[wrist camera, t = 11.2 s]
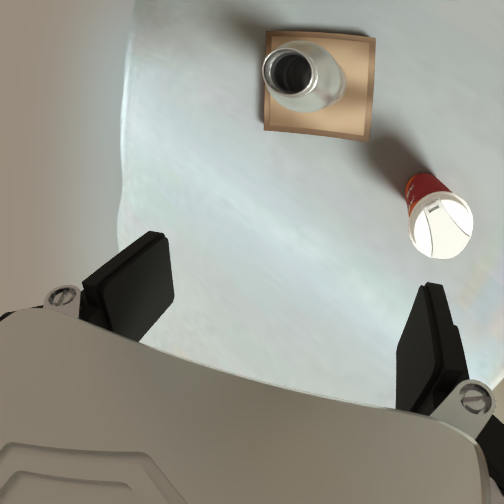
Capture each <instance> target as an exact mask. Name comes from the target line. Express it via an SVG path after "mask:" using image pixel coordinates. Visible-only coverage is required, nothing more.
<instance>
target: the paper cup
mask: <svg viewBox="0 0 504 504" xmlns="http://www.w3.org/2000/svg"><path fill="white" fill-rule="evenodd" d="M405 194H406V202H407V208H408V214H409V223H408V230H409V235H410V238H411V241H412V243H413V244H414V246H415V247H416V248H417V249H418V250H419V251H420V252H421V253H423V254H425V255H427V256H429V257H432V258H439V259H447V258H451V257H454V256H456V255H457V254H459V253H460V252H461V251H462V250H463V249H464V247H465V246H466V244H467V243H468V241H469V239H470V237H471V234H472V229H473V217H472V213H471V210H470V208H469V206H468V205H467V203H466V202H465V201H464V200H463V199H462V198H461V197H459V196H458V195H456V194H454V193H452V192H451V191H450V190H449V189H448V188H447V187H446V186H445V185H444V184H443V183H442V182H440V181H439V180H438V179H437V178H436V177H434V176H433V175H431V174H428V173H419V174H416V175H414V176H413V177H411V178H410V180H409V181H408V183H407V185H406V190H405Z"/></svg>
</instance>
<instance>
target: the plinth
mask: <svg viewBox="0 0 504 504" xmlns="http://www.w3.org/2000/svg"><path fill="white" fill-rule="evenodd" d="M299 40H301V41H309V42H312V43H315V44H317V45H319V46H321V47H323V48H324V49H325V50H327V51H328V52H329V53H330V54H331V55H332V56H333V58H334V59H335V61H336V62H337V63H338V64H339V65H340V66H341V67H342V69H343V71H344V72H345V75H346V78H347V89H346V92H345V94H344V96H343V97H342V99H341V100H340V101H339V102H337V103H336V104H334V105H332V106H328V107H325V108H323V109H321V110H319V111H315V112H311V113H301V112H295V111H292V110H289V109H287V108H285V107H283V106H282V105H281V104H279V103H278V102H277V101H276V100H275V99H274V98H273V97H272V96H271V94H270V92H269V91H268V89H267V86H266V83H265V103H264V130H266V131H279V132H290V133H301V134H310V135H319V136H327V137H335V138H342V139H349V140H356V141H363V142H369V138H370V128H371V116H372V104H373V90H374V72H375V45H376V38H372V37H364V36H356V35H346V34H336V33H322V32H301V31H266V57H267V55H268V54H269V53H271V52H272V51H274V50H275V49H276V48H278V47H279V46H281V45H283V44H285V43H287V42H291V41H299Z"/></svg>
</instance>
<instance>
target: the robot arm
mask: <svg viewBox="0 0 504 504" xmlns="http://www.w3.org/2000/svg"><path fill="white" fill-rule="evenodd" d="M82 284H83V288H84V290H83V291H81V292H80V289H79V288H78V287H76V286H73V285H64V286H60V287H57V288H55V289H53V290H52V291H50V292H49V293H48V294H47V296H46V298H45V301H44V305H42V306H37V307H32V308H27V309H21V310H18V311H13V312H7V313H5V314H3V315H2V316H1V317H0V504H504V424H503V423H502V422H500V421H499V420H498V419H497V418H496V417H495V416H494V415H493V413H494V410H495V407H496V400H495V396H494V394H493V392H492V391H491V389H490V388H489V387H488V386H487V385H485V384H484V383H482V382H480V381H477V380H470V379H469V374H468V369H467V364H466V359H465V355H464V350H463V346H462V342H461V338H460V334H459V330H458V327H457V326H456V325H453V321H452V317H451V313H450V310H449V306H448V302H447V299H446V295H445V292H444V288H443V286H442V285H440V284H435V283H429V282H427V283H426V284H425V286H422V285H421V286H420V287H419V290H418V293H417V296H416V298H415V301H414V304H413V307H412V310H411V312H410V315H409V318H408V320H407V323H406V325H405V328H404V330H403V333H402V335H401V338H400V340H399V343H398V346H397V351H396V409H392V408H386V407H381V406H376V405H371V404H365V403H359V402H353V401H348V400H343V399H338V398H333V397H328V396H323V395H319V394H314V393H309V392H305V391H300V390H296V389H292V388H288V387H283V386H279V385H275V384H271V383H268V382H264V381H260V380H256V379H252V378H249V377H245V376H241V375H238V374H234V373H231V372H227V371H224V370H221V369H217V368H214V367H211V366H207V365H204V364H201V363H198V362H195V361H192V360H188V359H185V358H182V357H179V356H176V355H173V354H171V353H168V352H165V351H162V350H159V349H156V348H153V347H150V346H148V345H145V344H142V343H139V341H140V340H141V338H142V337H143V336H144V335H145V334H146V333H147V331H148V330H149V329H150V328H151V327H152V326H153V324H154V323H155V322H156V321H157V320H158V319H159V318H160V316H161V315H162V314H163V313H164V312H165V311H166V309H167V308H168V307H169V306H170V305H171V304H172V302H173V300H174V287H173V279H172V271H171V262H170V253H169V243H168V239H167V238H166V237H165V235H164V234H163V233H159V232H154V231H148V232H147V233H145V234H144V235H143V236H141V237H140V238H139V239H137V240H136V241H135V242H133V243H132V244H131V245H129V246H128V247H127V248H125V249H124V250H123V251H121V252H120V253H119V254H117V255H116V256H115V257H113V258H112V259H111V260H110V261H108V262H107V263H106V264H104V265H103V266H102V267H100V268H99V269H98V270H97V271H95V272H94V273H93V274H91V275H90V276H89V277H88V278H86V279H85V280H84V281H83V282H82Z"/></svg>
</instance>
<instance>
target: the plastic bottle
mask: <svg viewBox="0 0 504 504" xmlns="http://www.w3.org/2000/svg"><path fill="white" fill-rule="evenodd" d="M262 77H263V79H264V82H265V83H266V86H267V89H268V91H269V92H270V94H271V96H272V97H273V98H274V99H275V100H276V101H277V102H278V103H279V104H281V105H282V106H283V107H285V108H287V109H289V110H292V111H295V112H301V113H311V112H315V111H319V110H321V109H323V108H325V107H328V106H332V105H334V104H336V103H337V102H339V101H340V100H341V99H342V97H343V96H344V94H345V92H346V89H347V78H346V75H345V72H344V71H343V69H342V67H341V66H340V65H339V64H338V63H337V62H336V61H335V59H334V58H333V56H332V55H331V54H330V53H329V52H328V51H327V50H325V49H324V48H323V47H321V46H319V45H317V44H315V43H312V42H309V41H301V40H299V41H291V42H287V43H285V44H283V45H281V46H279V47H278V48H276V49H275V50H274V51H272V52H271V53H269V54H268V55H267V57H266V58H265V60H264V61H263V64H262Z"/></svg>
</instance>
